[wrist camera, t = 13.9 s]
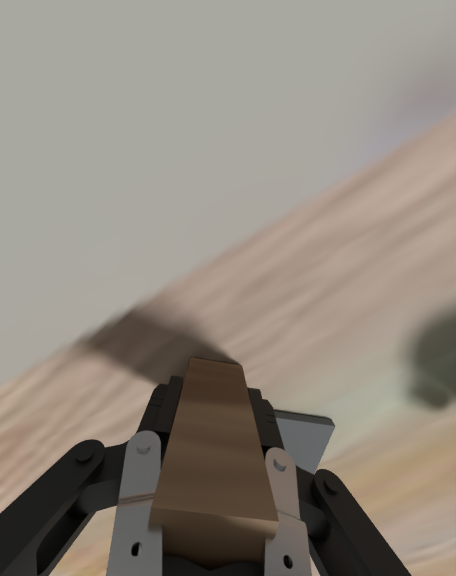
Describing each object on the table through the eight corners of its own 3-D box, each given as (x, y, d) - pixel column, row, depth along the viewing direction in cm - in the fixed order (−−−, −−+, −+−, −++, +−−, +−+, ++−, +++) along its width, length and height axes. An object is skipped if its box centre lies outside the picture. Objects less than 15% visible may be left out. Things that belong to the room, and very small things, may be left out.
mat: (213, 402, 16) (213, 408, 15) (331, 419, 17) (335, 426, 16) (189, 505, 19) (188, 514, 18) (289, 515, 20) (292, 524, 19)
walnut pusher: (190, 357, 15) (151, 506, 6) (241, 365, 15) (279, 521, 6) (181, 404, 15) (131, 613, 6) (231, 412, 15) (252, 623, 6)
